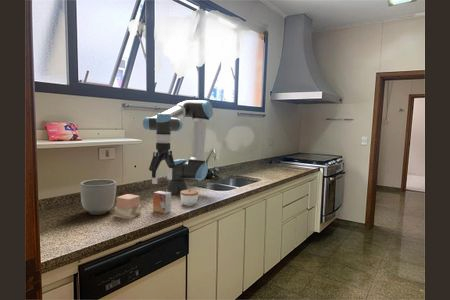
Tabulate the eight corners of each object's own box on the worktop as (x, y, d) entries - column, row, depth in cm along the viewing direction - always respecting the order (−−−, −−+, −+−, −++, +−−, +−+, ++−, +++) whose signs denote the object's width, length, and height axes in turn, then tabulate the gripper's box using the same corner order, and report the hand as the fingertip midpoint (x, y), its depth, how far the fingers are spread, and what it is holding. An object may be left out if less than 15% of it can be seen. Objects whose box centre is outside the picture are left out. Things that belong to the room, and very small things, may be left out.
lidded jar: (176, 205, 166) (176, 189, 165) (185, 201, 176) (186, 186, 175) (192, 207, 162) (193, 191, 161) (201, 203, 172) (201, 188, 171)
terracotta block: (127, 203, 150) (127, 193, 150) (139, 205, 147) (139, 195, 147) (116, 206, 143) (116, 197, 142) (129, 209, 140) (129, 199, 139)
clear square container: (127, 211, 151) (127, 202, 150) (140, 214, 147) (140, 205, 147) (114, 216, 143) (114, 207, 142) (128, 219, 139) (128, 209, 139)
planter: (94, 220, 136) (94, 187, 134) (72, 213, 144) (72, 182, 143) (123, 211, 151) (123, 181, 149) (102, 205, 159) (102, 177, 158)
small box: (152, 211, 153) (153, 192, 152) (158, 208, 158) (159, 190, 157) (165, 213, 150) (165, 194, 149) (171, 210, 155) (171, 192, 154)
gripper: (170, 141, 163) (169, 177, 165) (142, 142, 140) (141, 184, 142) (181, 141, 160) (180, 178, 162) (154, 143, 137) (153, 186, 139)
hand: (162, 181), depth 152 cm, fingers open, 13 cm apart
